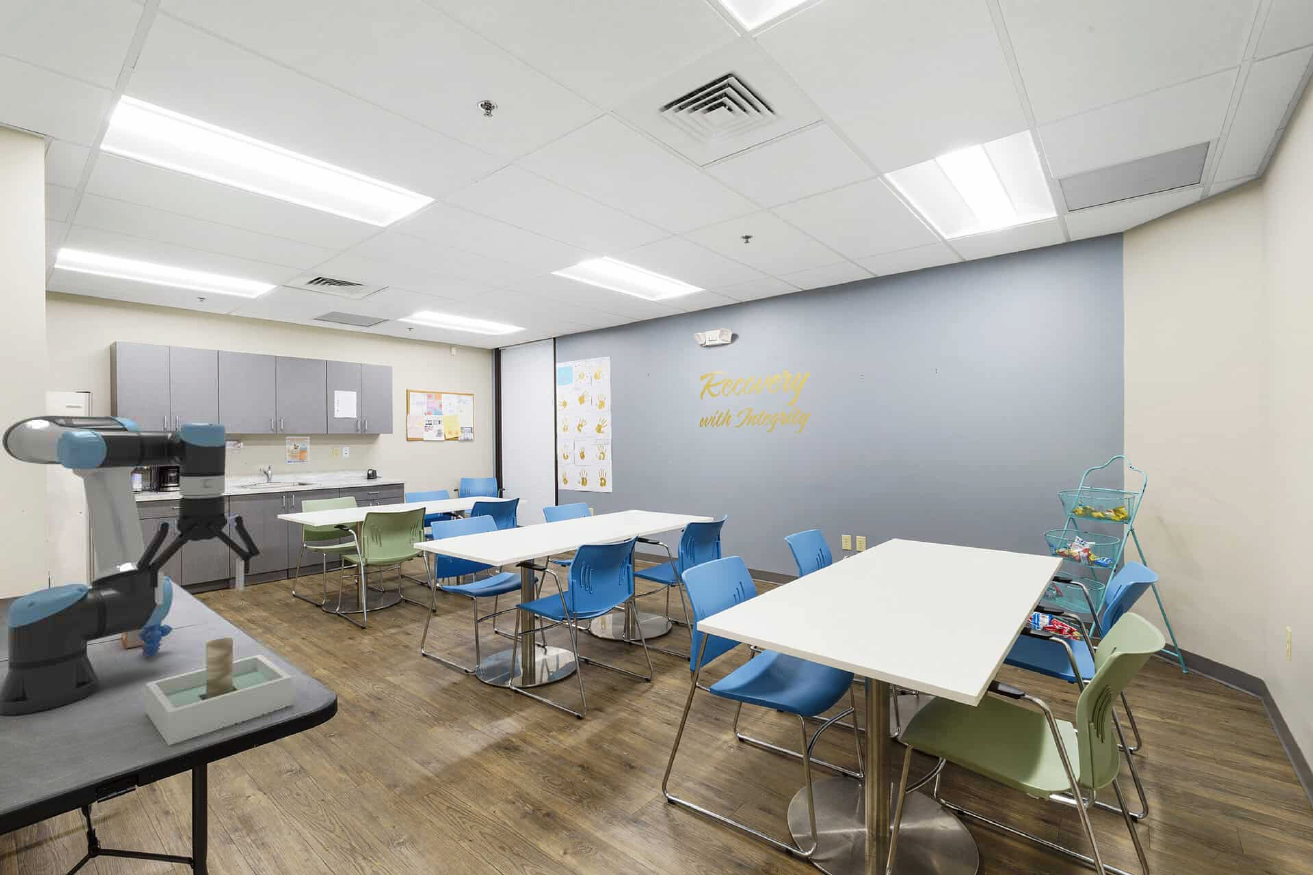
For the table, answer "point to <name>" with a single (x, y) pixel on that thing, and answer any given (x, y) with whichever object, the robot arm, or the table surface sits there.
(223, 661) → the peg
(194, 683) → the bore box
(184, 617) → the table surface
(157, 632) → the grapes
